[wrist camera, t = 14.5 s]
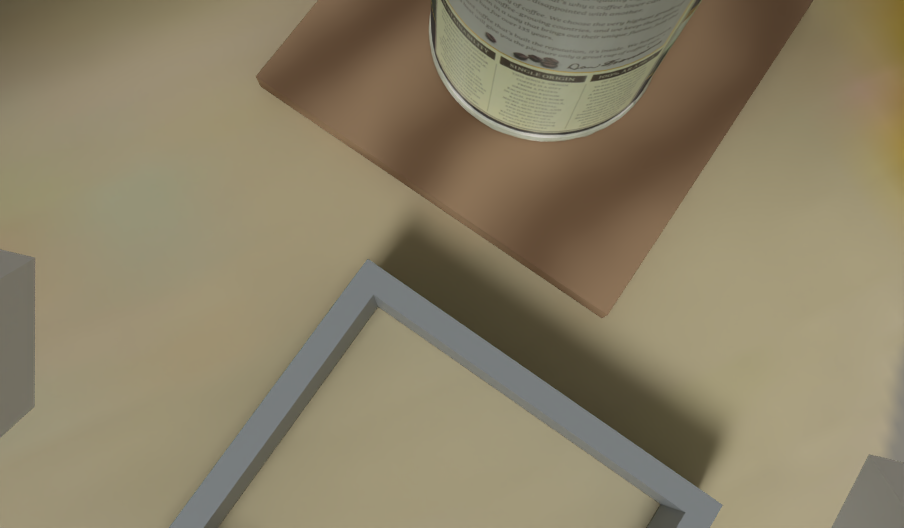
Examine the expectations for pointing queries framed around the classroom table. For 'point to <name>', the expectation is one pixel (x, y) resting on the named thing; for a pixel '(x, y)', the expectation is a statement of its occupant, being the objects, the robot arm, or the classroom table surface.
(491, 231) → the walnut board
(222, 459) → the grey tub
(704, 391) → the classroom table surface
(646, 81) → the coffee can
